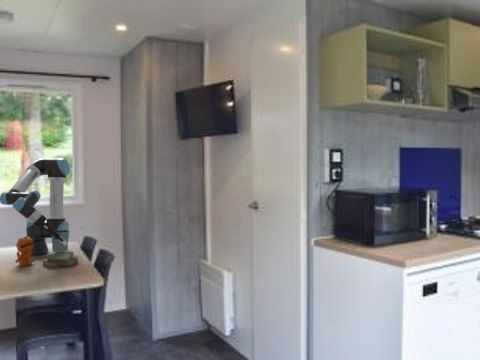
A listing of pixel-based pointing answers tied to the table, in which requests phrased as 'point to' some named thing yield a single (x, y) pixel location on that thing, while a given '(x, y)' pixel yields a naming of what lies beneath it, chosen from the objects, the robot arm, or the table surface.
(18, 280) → the table surface
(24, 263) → the toy dinosaur
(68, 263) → the plinth
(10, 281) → the table surface
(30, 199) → the robot arm
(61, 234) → the teal tapered container
